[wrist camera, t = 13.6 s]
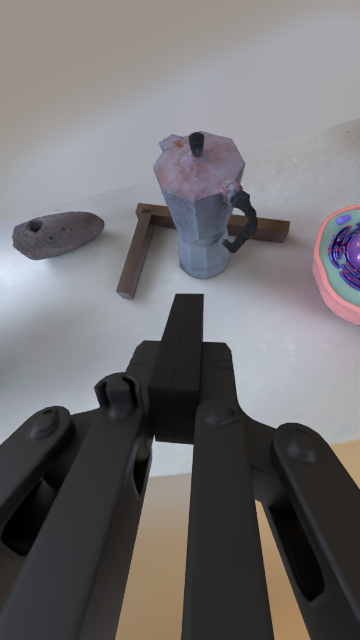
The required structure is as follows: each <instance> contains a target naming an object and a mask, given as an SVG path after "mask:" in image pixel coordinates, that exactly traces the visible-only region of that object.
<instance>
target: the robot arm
mask: <svg viewBox="0 0 360 640" xmlns="http://www.w3.org/2000/svg"><path fill="white" fill-rule="evenodd" d="M203 305H204V294H176V295H175V298H174V301H173V304H172V307H171V311H170V314H169V317H168V320H167V324H166V327H165V330H164V333H163V336H162V340H161V341H147V340H144V341H143V342H142V343H141V344H140V345H138V346H137V347H136V349H135V352H134V354H133V357H132V358H131V360H130V363H129V365H128V367H127V369H126V372H120V373H114V374H111V375H108V376H106V377H105V378H103V379H102V380H100V381H99V382H98V383H97V384H96V386H95V387H94V389H95V392H96V396H97V399H98V402H99V405H100V407H99V408H97V409H94V410H91V411H87V412H82V413H77V414H73V415H70V413H69V410H67V409H66V408H64V407H61V406H52V407H47V408H45V409H43V410H40V411H38V412H36V413H35V414H34V415H32V416H31V417H30V418H29V419H27V420H26V421H25V422H24V423H23V424H22V425H21V426H20V427H19V428H18V429H17V430H16V431H15V432H14V433H13V434H12V435H11V436H10V437H9V438H8V439H7V440H5V441H4V442H3V443H2V444H1V445H0V640H115V636H116V632H117V627H118V622H119V616H120V612H121V607H122V603H123V598H124V593H125V588H126V583H127V578H128V574H129V569H130V564H131V559H132V554H133V549H134V544H135V540H136V535H137V530H138V525H139V520H140V515H141V511H142V506H143V500H144V495H145V491H146V486H147V482H148V477H149V472H150V467H151V462H152V447H151V446H152V442H153V437H154V435H155V441H159V442H170V443H181V444H192V445H194V448H193V463H192V479H191V495H190V510H189V526H188V541H187V557H186V573H185V588H184V603H183V604H184V605H183V619H182V634H181V640H274V634H273V626H272V619H271V612H270V605H269V599H268V591H267V584H266V577H265V570H264V563H263V555H262V548H261V541H260V534H259V527H258V520H257V512H256V506H255V500H257V501H259V502H261V503H262V506H263V509H264V512H265V514H266V517H267V520H268V523H269V526H270V528H271V531H272V534H273V537H274V540H275V542H276V545H277V548H278V551H279V553H280V556H281V559H282V562H283V564H284V567H285V570H286V573H287V576H288V578H289V581H290V584H291V587H292V589H293V592H294V595H295V598H296V601H297V603H298V606H299V609H300V612H301V614H302V617H303V620H304V623H305V625H306V628H307V631H308V634H309V636H310V639H311V640H360V489H359V488H358V486H357V485H356V483H355V482H354V480H353V479H352V478H351V476H350V475H349V473H348V472H347V470H346V469H345V468H344V466H343V465H342V463H341V462H340V461H339V459H338V458H337V456H336V455H335V453H334V452H333V451H332V449H331V448H330V446H329V445H328V443H327V442H326V441H325V440H324V439H323V438H322V437H321V436H320V435H319V434H318V433H317V432H315V431H314V430H312V429H311V428H309V427H307V426H304V425H302V424H299V423H285V424H283V425H280V426H279V427H278V428H277V429H276V428H273V427H270V426H267V425H265V424H262V423H259V422H257V421H255V420H253V419H252V418H250V417H249V416H248V415H246V414H245V412H244V411H243V410H242V409H241V407H240V405H239V403H238V400H237V392H236V385H235V377H234V369H233V361H232V354H231V350H230V348H229V347H228V346H227V344H226V343H220V342H203Z"/></svg>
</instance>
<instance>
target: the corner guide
mask: <svg viewBox="0 0 360 640" xmlns="http://www.w3.org/2000/svg"><path fill="white" fill-rule="evenodd" d="M136 215H137V217H138V219H139V220H138V223H137V227H136V230H135V233H134V236H133V239H132V243H131V246H130V249H129V252H128V255H127V258H126V262H125V265H124V268H123V271H122V274H121V278H120V281H119V284H118V287H117V290H116V292H117V293H118V294H119V295H120V296H122V297H123V298H127V299H132V300H133V298H134V295H135V292H136V288H137V285H138V281H139V278H140V275H141V271H142V268H143V264H144V261H145V258H146V254H147V251H148V247H149V244H150V241H151V237H152V234H153V230H154V227H155V225H156V226H163V227H171V228H176V226H175V224H174V221H173V219H172V216H171V213H170V211H169V209H168V207H167V206H159V205H151V204H143V203H138V206H137V209H136ZM257 221H258V227H257V229H256V231H255V233H254V234H252V235H251V236H250V238H251V239H258V240H266V241H273V242H280V243H282V242H283V241H284V239H285V237H286V235H287V234H288V232H289V225H290V221H282V220H273V219H265V218H257ZM247 222H248V218H247V217H246V216H241V215H232V214H231V216H230V218H229V220H228V223H227V230H228V235H229V236H236V237H237V236H238V234H239V233H240V231H241V230H242V228H243V227H244V226H245V224H246V223H247Z"/></svg>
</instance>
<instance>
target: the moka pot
mask: <svg viewBox="0 0 360 640" xmlns="http://www.w3.org/2000/svg"><path fill="white" fill-rule="evenodd" d="M158 144H159V146H160V147H161V149H162V151H163V152H162V154H161V156H160V157H159V158H158V160H157V161H156V163H155V164H154V172H155V174H156V177H157V180H158V183H159V186H160V189H161V191H162V194H163V196H164V199H165V201H166V204H167V206H168V209H169V211H170V213H171V216H172V219H173V221H174V224H175V226H176V229H177V231H178V251H179V261H180V267H181V268H182V269H183V270H184V271H185V272H186V273H187V274H188V275H190V276H192V277H195V278H211V277H213V276H216V275H218V274H220V273H222V272H223V271H224V269H225V267H226V266H227V264H228V262H229V259H230V252H232V253H235V252H236V251H237V250H238V249H239V248H240V247H241V246H242V245H243V244H244V243H245V241H246V240H248V239H249V238H250V236H251V235H252V234H254V233H255V231H256V229H257V227H258V221H257V217H256V211H255V209H254V208H253V207H252V206H251V203H250V201H249V198H250V195H249V194H247V193H246V192H245V191H242V190H243V188H242V186H241V185H240V182H241V178H242V174H243V170H244V166H245V162H244V160H243V159H242V157H241V155H240V153H239V151H238V149H237V147H236V145H235V144H234V142H233V140H232V139H230V138H226V137H222V136H217V135H214V134H210V133H207V132H202V131H200V132H195V133H192V134H191V135H188V136H185V137H182V136H177V135H170V136H168V137H166V138H164V140H162V141H161V142H159V143H158ZM233 207H234V208H239V209H240V210H242V211H243V212H244V213H245V216H246V217H247V218H248V222H247V223H246V224H245V226H244V227H243V228H242V230H241V231H240V233H239V234H238V236H237V237H236V239H235V241H234V242H233V243H231V242H229V241H228V230H227V223H228V220H229V218H230V216H231V214H232V211H233Z"/></svg>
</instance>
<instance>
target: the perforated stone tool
mask: <svg viewBox="0 0 360 640" xmlns="http://www.w3.org/2000/svg"><path fill="white" fill-rule="evenodd" d="M104 225H105V224H104V221H103V220H102V219H101V218H100V217H98V216H96V215H94V214H92V213H88V212H66V213H59V214H53V215H48V216H43V217H38V218H35V219H32V220H30V221H28V222H25V223H23V224H20V225H18V226H15V227H14V231H13V235H12V239H13V247H15V249H17V250H18V251H20V252H21V253H22V254H24V255H25V256H26V257H28V258H29V259H32V260H41V259H46V258H50V257H55V256H58V255H61V254H63V253H66V252H68V251H70V250H73V249H75V248H77V247H79V246H81V245H83V244H85V243H87V242H89V241H91V240H92V239H94V238H95V237H96V236H97V235H99V234H100V233H101V231H102V230H103V228H104Z"/></svg>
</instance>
